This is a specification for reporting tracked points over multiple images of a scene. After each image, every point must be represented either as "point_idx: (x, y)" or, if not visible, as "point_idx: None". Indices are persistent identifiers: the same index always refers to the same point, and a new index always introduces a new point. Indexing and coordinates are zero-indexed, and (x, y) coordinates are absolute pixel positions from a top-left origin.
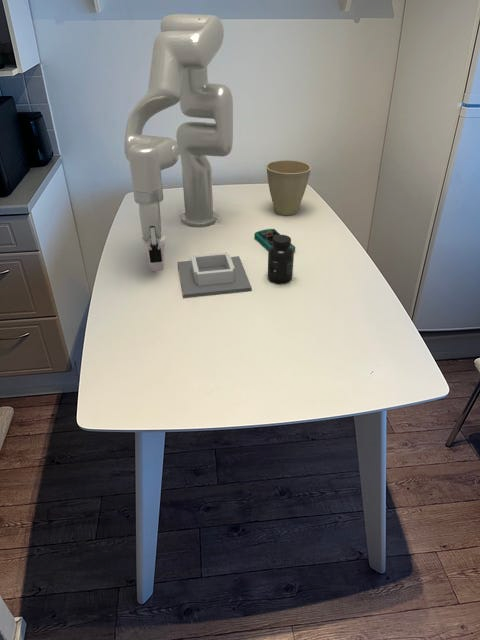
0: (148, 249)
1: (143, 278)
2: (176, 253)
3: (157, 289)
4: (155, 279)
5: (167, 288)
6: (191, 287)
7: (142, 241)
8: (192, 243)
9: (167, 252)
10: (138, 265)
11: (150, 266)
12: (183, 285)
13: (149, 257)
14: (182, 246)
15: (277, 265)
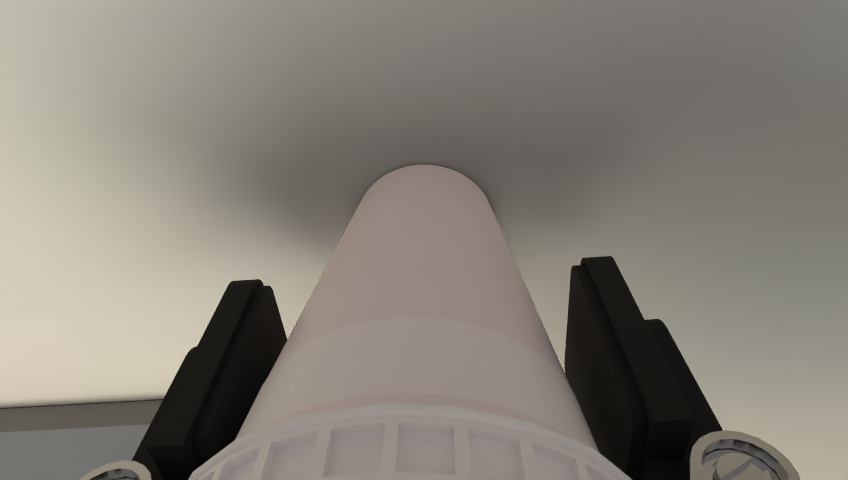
0: (254, 403)
1: (205, 95)
2: (699, 373)
3: (9, 240)
4: (198, 218)
5: (52, 315)
6: (46, 477)
7: (324, 442)
8: (832, 469)
9: (756, 307)
10: (542, 10)
11: (375, 196)
12: (62, 437)
13: (317, 285)
14: (817, 412)
15: None
